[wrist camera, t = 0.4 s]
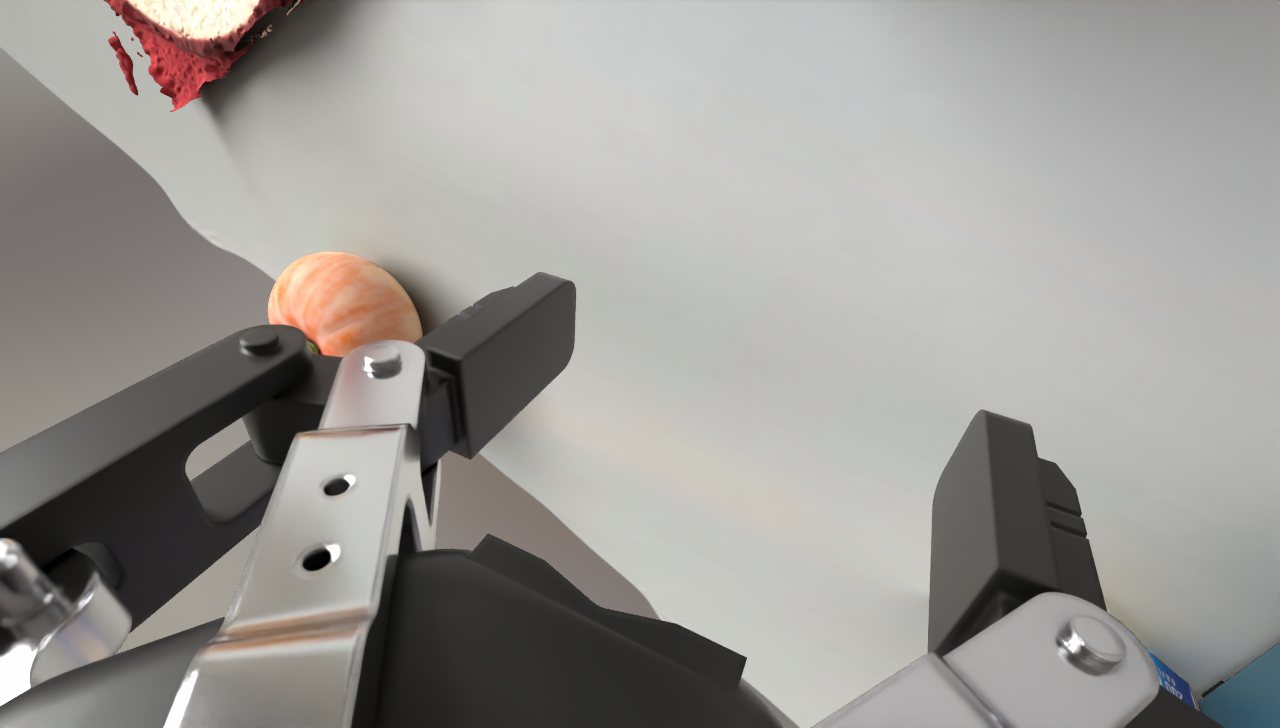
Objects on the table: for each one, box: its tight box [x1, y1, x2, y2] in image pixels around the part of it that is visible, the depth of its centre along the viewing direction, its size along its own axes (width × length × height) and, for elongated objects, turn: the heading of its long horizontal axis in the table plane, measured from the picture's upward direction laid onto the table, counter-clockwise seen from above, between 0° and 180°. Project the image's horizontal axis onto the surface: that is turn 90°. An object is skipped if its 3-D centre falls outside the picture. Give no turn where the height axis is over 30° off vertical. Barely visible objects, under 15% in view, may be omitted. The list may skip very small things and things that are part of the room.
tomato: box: [268, 252, 422, 357], centre depth 40 cm, size 11×11×8 cm
